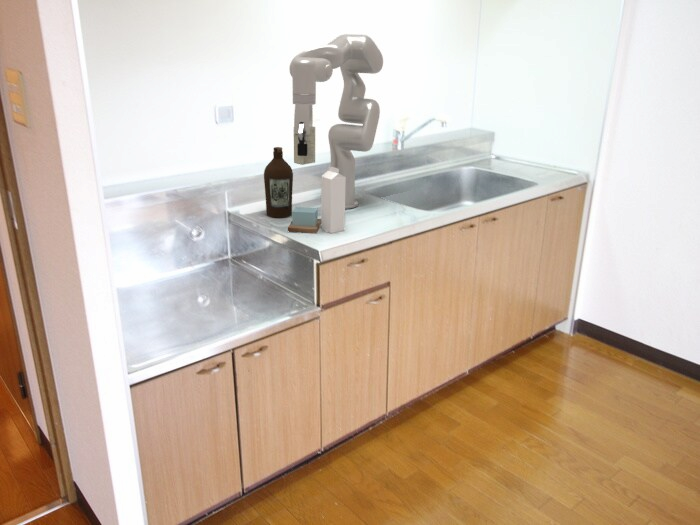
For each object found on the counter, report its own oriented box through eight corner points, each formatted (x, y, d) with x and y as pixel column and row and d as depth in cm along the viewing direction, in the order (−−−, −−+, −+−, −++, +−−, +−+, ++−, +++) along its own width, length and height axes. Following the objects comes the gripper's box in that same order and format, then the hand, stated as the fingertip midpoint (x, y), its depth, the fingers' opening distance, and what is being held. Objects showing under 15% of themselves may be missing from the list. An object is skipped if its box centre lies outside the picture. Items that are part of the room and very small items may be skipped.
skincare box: (307, 160, 212) (307, 125, 208) (315, 162, 209) (316, 126, 205) (293, 163, 208) (292, 126, 203) (301, 165, 205) (301, 128, 201)
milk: (330, 233, 211) (331, 170, 203) (320, 229, 216) (320, 166, 208) (345, 230, 215) (346, 168, 206) (334, 226, 219) (335, 164, 211)
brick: (295, 220, 219) (295, 206, 217) (317, 221, 219) (317, 207, 217) (292, 225, 214) (292, 211, 212) (315, 226, 213) (315, 212, 211)
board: (293, 221, 223) (293, 217, 222) (321, 223, 222) (321, 219, 221) (287, 232, 211) (287, 227, 211) (316, 233, 211) (316, 229, 210)
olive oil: (263, 211, 234) (261, 145, 225) (291, 210, 237) (290, 144, 228) (266, 219, 225) (264, 150, 216) (295, 218, 227) (294, 150, 218)
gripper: (297, 96, 209) (297, 148, 216) (287, 101, 193) (288, 158, 199) (319, 96, 209) (319, 149, 215) (311, 102, 193) (311, 159, 199)
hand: (304, 153), depth 207 cm, fingers closed on skincare box, 7 cm apart
